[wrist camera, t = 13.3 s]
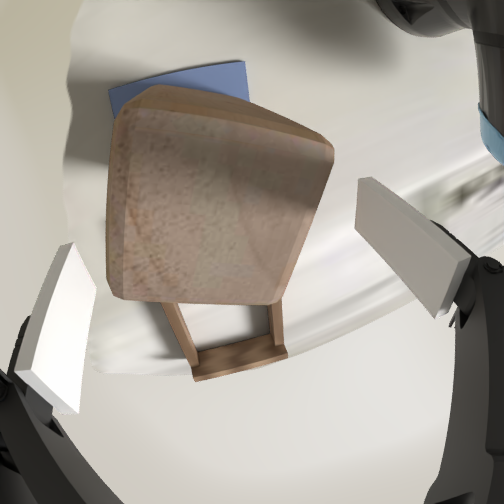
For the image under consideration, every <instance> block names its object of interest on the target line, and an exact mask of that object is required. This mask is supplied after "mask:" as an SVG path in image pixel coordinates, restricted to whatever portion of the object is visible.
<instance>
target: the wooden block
mask: <svg viewBox="0 0 504 504" xmlns="http://www.w3.org/2000/svg"><path fill="white" fill-rule="evenodd" d="M333 164H334V148H333V146H332V144H331V143H330V142H329V141H328V140H327V139H325V138H324V137H323V136H322V135H321V134H319V133H317V132H315V131H313V130H311V129H309V128H307V127H305V126H303V125H300V124H298V123H296V122H294V121H292V120H290V119H288V118H285V117H283V116H281V115H279V114H277V113H274V112H272V111H270V110H267V109H265V108H263V107H260V106H258V105H256V104H253V103H251V102H248V101H246V100H243V99H241V98H238V97H233V96H229V95H224V94H218V93H213V92H208V91H202V90H196V89H190V88H183V87H176V86H169V85H161V84H158V85H154V86H151V87H149V88H148V89H146V90H145V91H143V92H142V93H140V94H139V95H137V96H135V97H134V98H132V99H131V100H130V101H128V102H127V103H125V104H124V105H123V107H122V108H121V110H120V112H119V113H118V115H117V117H116V118H115V120H114V126H113V133H112V141H111V150H110V160H109V171H108V185H107V204H106V279H107V282H108V284H109V286H110V289H111V291H112V293H113V296H116V297H118V298H121V299H123V300H133V301H149V302H168V303H190V304H221V305H270V304H273V303H276V302H278V300H279V299H280V298H281V297H282V296H283V294H284V292H285V289H286V287H287V284H288V282H289V280H290V277H291V275H292V272H293V270H294V267H295V265H296V262H297V260H298V257H299V255H300V252H301V250H302V247H303V244H304V242H305V239H306V237H307V234H308V231H309V229H310V226H311V224H312V221H313V218H314V216H315V213H316V210H317V208H318V205H319V202H320V200H321V197H322V194H323V191H324V189H325V186H326V183H327V180H328V178H329V175H330V172H331V169H332V166H333Z"/></svg>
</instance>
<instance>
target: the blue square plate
mask: <svg viewBox="0 0 504 504" xmlns="http://www.w3.org/2000/svg"><path fill="white" fill-rule="evenodd" d="M158 84H161V85H169V86H176V87H183V88H190V89H196V90H202V91H208V92H213V93H218V94H224V95H229V96H233V97H238V98H241V99H243V100H246V101H248V102H250V100H249V92H248V83H247V75H246V67H245V61H243V62H234V63H226V64H219V65H212V66H206V67H200V68H195V69H189V70H184V71H179V72H174V73H170V74H165V75H161V76H157V77H152V78H149V79H145V80H141V81H137V82H133V83H130V84H126V85H123V86H120V87H116V88H113V89H110V90H108V91H109V96H110V101H111V105H112V110H113V114H114V119H115V118H116V117H117V115H118V113H119V112H120V110H121V108H122V107H123V105H124V104H125V103H127V102H128V101H130V100H131V99H132V98H134V97H135V96H137V95H139V94H140V93H142V92H143V91H145V90H146V89H148V88H149V87H151V86H154V85H158Z"/></svg>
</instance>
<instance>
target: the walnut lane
mask: <svg viewBox="0 0 504 504" xmlns="http://www.w3.org/2000/svg"><path fill="white" fill-rule="evenodd" d="M161 305H162V307H163V309H164V311H165V314H166V316H167V318H168V320H169V323H170V325H171V327H172V329H173V331H174V333H175V336H176V338H177V340H178V342H179V344H180V346H181V348H182V350H183V352H184V354H185V356H186V358H187V360H188V362H189V364H190V366H191V369H192V375H193V379H194V381H195V382H198V381H202V380H207V379H211V378H216V377H220V376H224V375H228V374H232V373H236V372H240V371H244V370H248V369H251V368H255V367H259V366H262V365H266V364H269V363H273V362H276V361H279V360H283V359H286V358H288V353H287V350H286V348H285V346H284V337H283V317H282V299H281V298H280V299H279V300H278V302H276V303H273V304H270V305H267V308H268V318H269V327H270V334H267V335H263V336H260V337H256V338H252V339H249V340H245V341H241V342H237V343H233V344H229V345H225V346H221V347H217V348H213V349H209V350H205V351H200V352H197V350H196V348H195V345H194V343H193V341H192V338H191V336H190V333H189V331H188V329H187V326H186V324H185V321H184V319H183V316H182V314H181V311H180V309H179V306H178V304H177V303H168V302H161Z"/></svg>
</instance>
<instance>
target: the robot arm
mask: <svg viewBox="0 0 504 504" xmlns="http://www.w3.org/2000/svg"><path fill="white" fill-rule="evenodd" d="M376 1H377V3H378V4H379V6H380V7H381V9H382V10H383V11H384V13H385V14H386V15H387V16H388V17H389V19H390V20H391V21H392V22H393V23H395V24H396V25H397V26H398V27H399V28H401V29H402V30H404V31H406V32H407V33H410V34H412V35H415V36H419V37H440V36H444V35H446V34H449V33H452V32H455V31H458V30H461V29H464V28H468V29H472V30H473V36H474V43H475V49H476V57H477V67H478V79H479V100H480V102H479V103H478V110H479V112H480V126H481V137H482V140H483V143H484V145H485V146H486V148H487V149H488V151H489V152H490V153H491V154H492V155H493V157H494V158H495V159H496V160H497V161H499V162H500V163H501V164H502V165H503V166H504V0H376ZM355 229H356V230H357V232H358V233H359V234H360V235H361V236H362V237H363V238H364V239H365V240H366V241H367V242H368V243H369V244H370V245H371V246H372V247H373V248H374V250H375V251H376V252H377V253H378V254H379V255H380V256H381V257H382V258H383V259H384V260H385V262H386V263H387V264H388V265H389V266H390V267H391V268H392V269H393V271H394V272H395V273H396V274H397V275H398V276H399V277H400V278H401V280H402V281H403V282H404V283H405V284H406V285H407V287H408V288H409V289H410V290H411V291H412V292H413V294H414V295H415V296H416V297H417V298H418V300H419V301H420V302H421V303H422V304H423V306H424V307H425V308H426V309H427V310H428V312H429V313H430V314H431V315H432V317H433V318H434V319H436V318H439V317H441V316H443V315H444V314H446V313H448V312H449V309H450V307H451V305H452V303H453V301H454V302H455V303H456V305H457V306H458V307H457V309H456V311H455V313H454V315H453V317H452V319H451V321H450V323H449V327H451V326H452V324H453V323H454V321H455V327H454V328H455V332H456V334H455V369H454V382H453V393H452V403H451V411H450V418H449V425H448V431H447V437H446V443H445V448H444V453H443V458H442V462H441V467H440V471H439V474H438V477H437V478H436V480H435V481H434V483H433V484H432V486H431V487H430V489H429V491H428V493H427V496H426V498H425V501H424V504H504V266H502V264H501V263H500V262H498V261H497V260H495V259H493V258H491V257H486V256H483V257H480V258H478V257H477V256H476V255H475V254H474V253H473V252H472V251H471V250H470V249H468V248H467V247H466V246H465V245H464V244H463V243H462V242H461V241H459V240H458V239H456V237H455V236H454V235H452V234H451V233H449V231H448V230H446V229H445V228H444V227H443V226H442V225H440V224H438V223H436V222H434V221H432V220H429V219H428V218H426V217H425V216H424V215H423V214H421V213H420V212H419V211H417V210H416V209H415V208H414V207H412V206H411V205H410V204H408V203H407V202H406V201H404V200H403V199H402V198H400V197H399V196H398V195H396V194H395V193H394V192H392V191H391V190H389V189H388V188H387V187H385V186H384V185H382V184H381V183H380V182H378V181H377V180H375V179H374V178H372V177H367V178H360V179H358V191H357V205H356V218H355ZM96 291H97V288H96V286H95V284H94V282H93V280H92V279H91V277H90V275H89V273H88V271H87V269H86V267H85V265H84V263H83V261H82V259H81V257H80V255H79V253H78V250H77V248H76V246H75V244H74V242H72V243H69V244H65V245H62V246H60V247H59V249H58V251H57V253H56V255H55V258H54V260H53V262H52V264H51V266H50V269H49V271H48V273H47V276H46V278H45V281H44V283H43V285H42V288H41V290H40V293H39V295H38V298H37V301H36V303H35V306H34V308H33V311H32V314H31V315H30V316H28V317H27V318H26V320H25V321H24V323H23V324H22V326H21V328H20V331H19V334H18V339H17V340H16V343H15V348H14V350H13V353H12V357H11V360H10V364H9V367H8V371H7V375H6V374H5V373H4V372H3V371H2V370H1V369H0V504H124V503H123V502H122V501H121V500H120V499H119V498H118V497H117V496H116V495H115V494H114V493H113V492H112V491H111V489H110V488H109V487H108V486H107V485H106V484H105V483H104V482H103V480H102V479H101V478H100V477H99V476H98V475H97V473H96V472H95V471H94V470H93V469H92V467H91V466H90V465H89V464H88V462H87V461H86V460H85V459H84V457H83V456H82V455H81V453H80V452H79V451H78V449H77V448H76V447H75V445H74V444H73V442H72V441H71V440H70V438H69V437H68V435H67V434H66V432H65V431H64V429H63V428H62V427H61V425H60V424H59V422H58V420H57V419H56V418H55V417H54V416H53V415H52V409H53V407H54V408H55V409H56V410H57V411H58V412H60V413H61V414H62V415H64V414H79V405H80V393H81V382H82V373H83V365H84V357H85V350H86V344H87V338H88V332H89V326H90V320H91V315H92V310H93V305H94V300H95V295H96Z"/></svg>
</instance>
